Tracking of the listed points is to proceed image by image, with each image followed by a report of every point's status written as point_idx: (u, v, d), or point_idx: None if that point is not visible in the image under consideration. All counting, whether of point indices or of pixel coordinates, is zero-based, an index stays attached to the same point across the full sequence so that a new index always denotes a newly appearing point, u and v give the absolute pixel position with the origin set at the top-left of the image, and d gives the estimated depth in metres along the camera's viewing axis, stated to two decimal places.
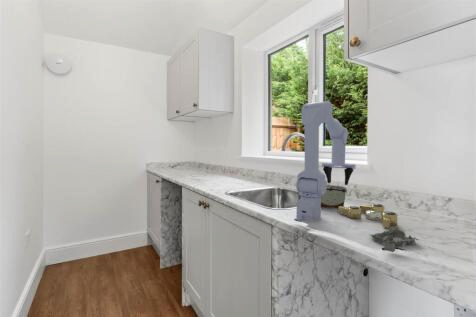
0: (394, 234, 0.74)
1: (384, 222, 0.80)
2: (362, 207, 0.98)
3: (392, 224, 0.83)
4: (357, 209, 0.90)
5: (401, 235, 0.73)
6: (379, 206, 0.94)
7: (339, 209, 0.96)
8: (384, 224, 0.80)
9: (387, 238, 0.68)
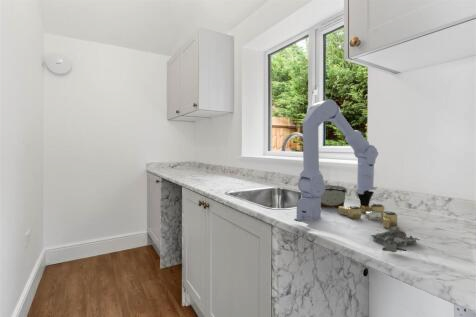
0: (395, 234, 0.73)
1: (384, 222, 0.80)
2: (362, 207, 0.98)
3: (392, 224, 0.83)
4: (357, 209, 0.90)
5: (402, 235, 0.73)
6: (379, 206, 0.94)
7: (339, 209, 0.96)
8: (384, 224, 0.80)
9: (388, 238, 0.68)
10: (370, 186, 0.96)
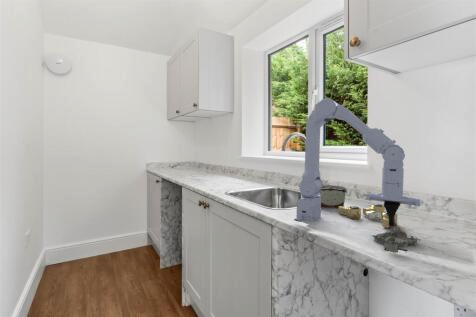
0: (396, 235, 0.73)
1: (384, 222, 0.80)
2: (368, 210, 0.93)
3: None
4: (357, 209, 0.90)
5: (403, 236, 0.72)
6: (382, 206, 0.95)
7: (339, 209, 0.96)
8: (384, 224, 0.80)
9: (389, 239, 0.68)
10: None
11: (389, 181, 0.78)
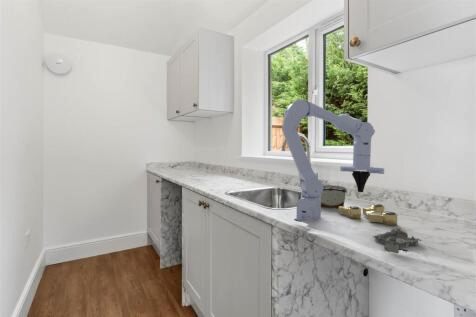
0: (396, 235, 0.73)
1: None
2: (368, 210, 0.93)
3: (383, 222, 0.84)
4: (357, 209, 0.90)
5: (403, 236, 0.72)
6: (382, 206, 0.95)
7: (339, 209, 0.96)
8: None
9: (390, 239, 0.68)
10: None
11: (363, 153, 0.90)
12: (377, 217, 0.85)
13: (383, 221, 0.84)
